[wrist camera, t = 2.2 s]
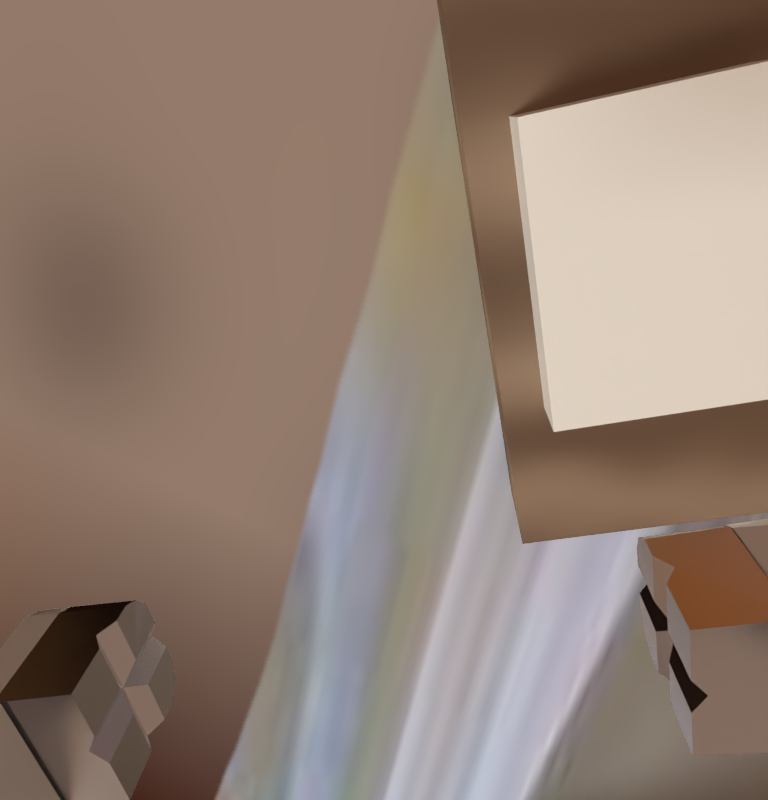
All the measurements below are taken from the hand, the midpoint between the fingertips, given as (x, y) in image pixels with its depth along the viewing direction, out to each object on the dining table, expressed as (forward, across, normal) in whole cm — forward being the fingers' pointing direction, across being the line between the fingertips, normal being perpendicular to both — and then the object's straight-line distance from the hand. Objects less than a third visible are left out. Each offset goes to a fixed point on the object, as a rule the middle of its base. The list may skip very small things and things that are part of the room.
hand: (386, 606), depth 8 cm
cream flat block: (+15, +7, 0) cm, 17 cm away
